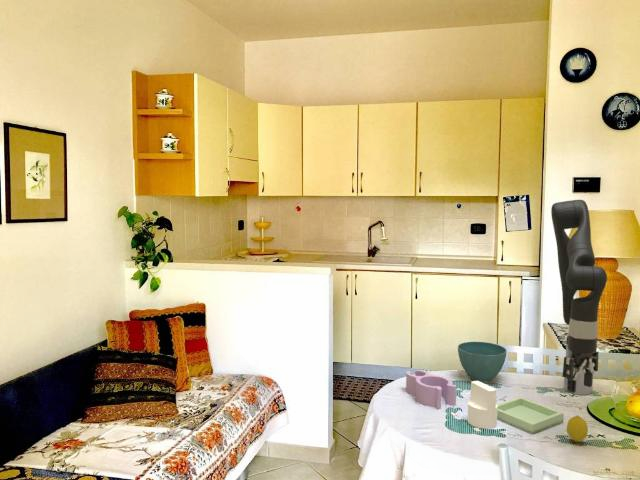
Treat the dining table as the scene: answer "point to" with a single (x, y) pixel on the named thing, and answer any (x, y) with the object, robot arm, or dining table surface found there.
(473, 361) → the teal bowl
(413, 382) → the clip
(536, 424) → the tray
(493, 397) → the base with upright slab
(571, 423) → the lemon
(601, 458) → the dining table surface
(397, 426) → the dining table surface
